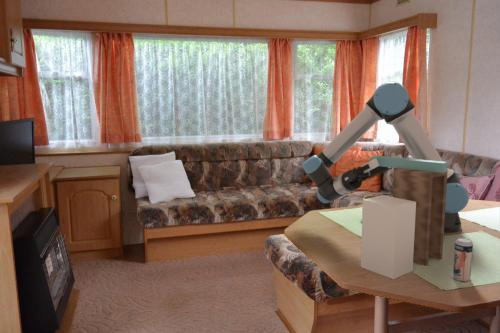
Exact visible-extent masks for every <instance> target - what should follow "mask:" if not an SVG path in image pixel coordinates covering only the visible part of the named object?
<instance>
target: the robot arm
mask: <svg viewBox="0 0 500 333" xmlns="http://www.w3.org/2000/svg"><path fill="white" fill-rule="evenodd" d="M415 111H416V106H415V104H414V103H413V100H411V97H410V96H409V92H408V90H407V88H406V87H405V86H404V85H403V84H401V83H400V82H397V81H386V82H383V83H381V84H380V85H379V86H377V88H376V90H375V91H374V93H373V94H372V95H371V97H370V98H369V99H368V100H367V101H366V102H365V103H364V108H363V109H361V111H360V112H359V113H358V114H357V115H356V116H355V117H354V118H353V119H352V120H351V121H350V122H349V123H348V124H347V125H346V126H345V127H344V128H343V129H342V130H341V131H340V132H339V133H338V134H337V135H336V136H335V137H334V138H333V139H332V140H331V141H330V142H329V143H328V144H327V145H326V146H325V147H324V148H323V150H322V151H321V152H319V153H318V154H317V155H316V154H314V155H311V157H309V158H308V159H307V160H305V161H304V162H303V163H302V164H301V166H302V169H303V170H304V172H305V173H306V174H307V176H308V177H309V178H310V179H311V181H312V182H313V183H314V185H315V186H316V190H315V192H316V196H317V199H318V201H320V202H321V203H322V204H329V203H331V202H335V201H336V200H338V199H340V198H342V197H343V196H348V195H349V193H351V192H354V191H356V190H357V189H359V188H361V187H362V185H363V181H366V180H368V179H371V178H373V177H375V176H378V175H380V174H382V173H385V172H387V171H390V170H392V169H393V168H392V167H382V166H379V163H378V161H377V159H376V158H375V159H373V160H371V159H370V160H369V161H368V162H366V163H365V164H362V165H361V166H358V167H357V168H356V167H354V168H352V169H348V170H347V171H345V172H344V173H341V174H339V175H337V176H336V177H333V175H332V173H331V172H330V171H329V170H330V169H331V168H332V167H333V166H334V165H335V164H336V162H338V160H340V159H341V158H342V157H343V156H344V155H345V154H346V153H347V152H348V151H349V150H350V149H351V148H352V147H353V146H354V145H355V144H356V143H357V142H358V141H359V140H361V138H362V137H363V136H365V134H366V133H367V132H369V130H370V129H371V128H372V127H374V125H376V123H378V122H379V121H384V122H385V123H386V124H387V125H391V126H392V127H393V128H394V130H395V132H396V133H397V135H398V137H399V138H400V140H401V141H402V143H403V145H404V146H405V148H406V150H407V151H408V153H409V154H410V155H411V156H412V158H413V159H421V160H432V161H443V159H442V158H441V155H440V154H439V152H438V151H437V149H436V148H435V146H434V145H433V143H432V141H431V139H430V138H429V136H428V134H427V133H426V131H425V129H424V127H423V126H422V124H421V122H420V121H419V119H418V118H417V116H416V114H415ZM402 156H403V155H402V154H401V153H400V154H398V155H396V156H395V157H398V158H403V157H402ZM447 170H448V172H447V189H446V205H445V221H444V233H454V232H459V231H461V230H462V222H461V218H460V214H459V213H460V212H461V211H462V210H464V209H466V207H467V206H468V204H469V199H470V196H469V191H468V188H466V187H465V186H464V185H463V184H462V182H461V177H460V173H459V172H457V171H455V170H454V169H452V168H451V169H450V168H448V167H447Z"/></svg>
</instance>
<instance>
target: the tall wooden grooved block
mask: <svg viewBox="0 0 500 333" xmlns="http://www.w3.org/2000/svg"><path fill="white" fill-rule="evenodd" d="M447 172H448V170H447V171H446V172H444V173H439V172H430V171H420V170H411V169H401V168H393V177H392V178H393V179H392V197H395V198H400V199H405V200H409V201H414V202H416V214H415V234H414V254H413V262H414V263H413V264H417V265H420V266H423V267H427V266H429V258H431V259H435V260H438V261H441V260H443V250H444V237H445V235H444V234H445V232H444V221H445V205H446V189H447Z"/></svg>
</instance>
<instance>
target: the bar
mask: <svg viewBox="0 0 500 333" xmlns="http://www.w3.org/2000/svg"><path fill="white" fill-rule="evenodd" d="M375 158H376V159H377V161H378V163H379V166H382V167H392V169H394V168H401V169H411V170H420V171H430V172H439V173H444V172H446V171H447V168H448V161H443V160H442V161H432V160H421V159H410V158H408V157H402V158H398V157H396V156H385V155H373V156H371V157H370V161H371V160H373V159H375Z"/></svg>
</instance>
